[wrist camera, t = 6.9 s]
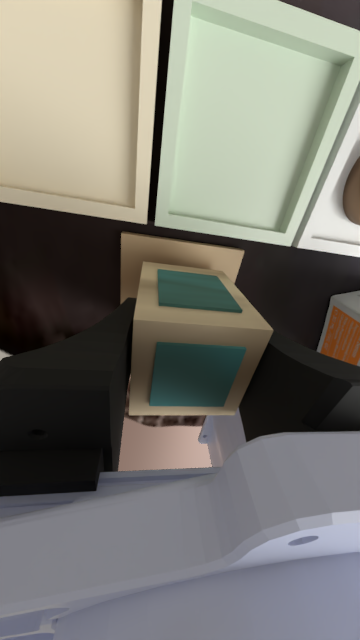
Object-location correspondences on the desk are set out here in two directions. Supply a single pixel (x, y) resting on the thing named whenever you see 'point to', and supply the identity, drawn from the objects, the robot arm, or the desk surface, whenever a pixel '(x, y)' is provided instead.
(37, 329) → the desk surface
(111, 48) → the tray sand
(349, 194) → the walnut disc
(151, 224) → the desk surface
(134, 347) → the beige block teal panels
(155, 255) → the cork pad
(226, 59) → the tray sage
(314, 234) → the tray white
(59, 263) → the desk surface
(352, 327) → the skincare box
